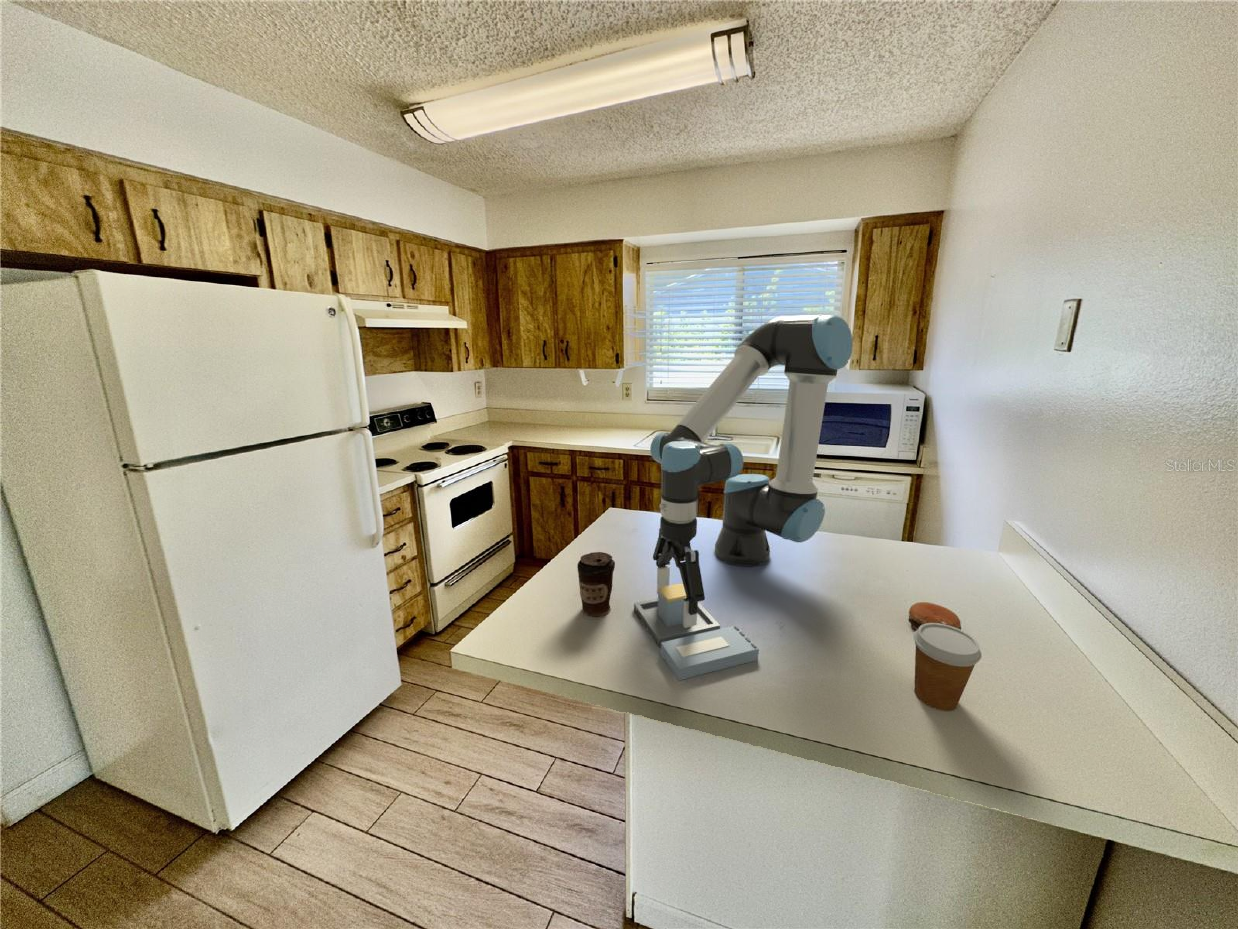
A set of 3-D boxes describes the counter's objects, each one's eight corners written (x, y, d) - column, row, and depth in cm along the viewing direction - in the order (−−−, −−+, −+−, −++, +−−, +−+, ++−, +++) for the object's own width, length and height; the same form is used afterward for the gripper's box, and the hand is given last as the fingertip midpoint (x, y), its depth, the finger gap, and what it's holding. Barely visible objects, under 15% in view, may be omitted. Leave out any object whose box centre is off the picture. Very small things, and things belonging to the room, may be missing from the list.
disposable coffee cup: (892, 680, 88) (902, 622, 85) (941, 677, 89) (953, 620, 85) (928, 720, 79) (941, 658, 75) (983, 717, 79) (998, 654, 76)
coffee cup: (610, 622, 105) (609, 569, 101) (573, 618, 107) (571, 565, 103) (618, 601, 113) (618, 551, 110) (584, 597, 115) (582, 547, 111)
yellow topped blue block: (682, 609, 109) (683, 583, 107) (692, 621, 104) (693, 594, 102) (657, 614, 107) (658, 587, 105) (667, 626, 102) (668, 599, 100)
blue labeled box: (735, 635, 101) (736, 624, 100) (758, 659, 93) (759, 647, 93) (660, 653, 95) (661, 641, 94) (678, 680, 88) (679, 667, 87)
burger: (934, 614, 108) (937, 596, 107) (970, 639, 99) (975, 620, 98) (895, 619, 106) (898, 600, 105) (929, 646, 98) (933, 626, 96)
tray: (688, 598, 114) (689, 592, 114) (719, 632, 102) (720, 625, 101) (633, 610, 110) (634, 603, 109) (658, 646, 97) (659, 639, 97)
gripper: (639, 499, 109) (638, 584, 115) (690, 544, 87) (686, 646, 92) (669, 495, 111) (667, 578, 117) (726, 538, 89) (720, 637, 95)
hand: (675, 608), depth 105 cm, fingers open, 13 cm apart
